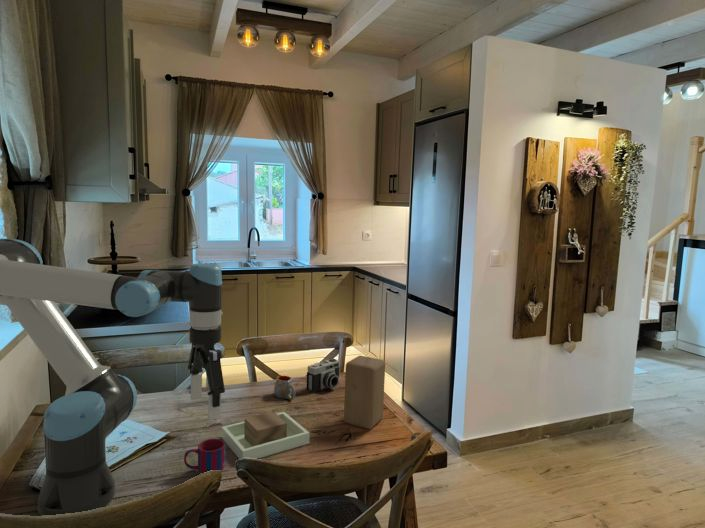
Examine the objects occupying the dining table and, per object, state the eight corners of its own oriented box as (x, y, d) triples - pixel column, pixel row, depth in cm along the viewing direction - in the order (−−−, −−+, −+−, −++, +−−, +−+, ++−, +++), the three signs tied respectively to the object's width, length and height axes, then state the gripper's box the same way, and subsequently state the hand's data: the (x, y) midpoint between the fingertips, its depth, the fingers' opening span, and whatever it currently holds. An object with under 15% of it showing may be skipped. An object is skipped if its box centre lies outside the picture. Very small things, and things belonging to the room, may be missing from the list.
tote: (242, 465, 123) (243, 451, 123) (221, 440, 136) (221, 426, 136) (309, 445, 135) (309, 432, 134) (283, 423, 148) (284, 411, 147)
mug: (271, 393, 171) (271, 376, 170) (288, 390, 175) (288, 373, 174) (284, 406, 161) (284, 387, 160) (302, 402, 165) (302, 384, 164)
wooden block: (342, 423, 150) (344, 362, 147) (356, 411, 159) (359, 354, 156) (370, 430, 145) (373, 368, 143) (383, 418, 154) (386, 359, 152)
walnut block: (257, 451, 129) (257, 430, 128) (244, 437, 136) (244, 418, 136) (286, 443, 134) (286, 423, 134) (272, 430, 142) (273, 411, 141)
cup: (225, 475, 119) (225, 450, 118) (183, 480, 116) (183, 454, 115) (224, 461, 125) (225, 437, 124) (185, 465, 122) (185, 441, 121)
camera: (318, 396, 170) (318, 369, 169) (303, 389, 177) (303, 363, 176) (347, 388, 179) (347, 362, 178) (332, 381, 186) (333, 356, 185)
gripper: (239, 336, 109) (238, 423, 111) (203, 314, 129) (203, 388, 131) (207, 340, 104) (206, 431, 107) (175, 316, 124) (175, 393, 127)
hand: (204, 408), depth 119 cm, fingers open, 13 cm apart
